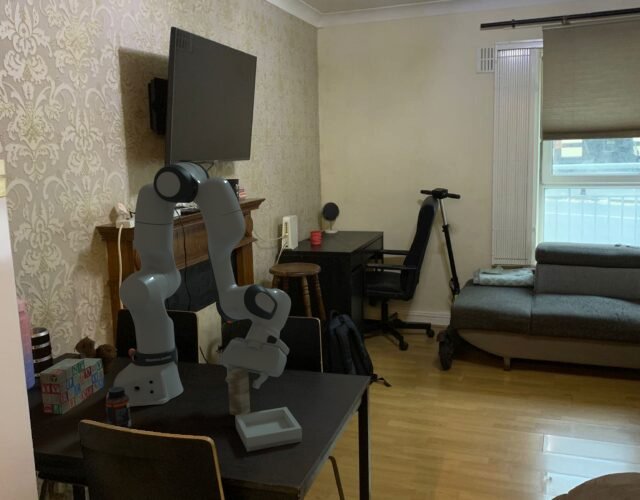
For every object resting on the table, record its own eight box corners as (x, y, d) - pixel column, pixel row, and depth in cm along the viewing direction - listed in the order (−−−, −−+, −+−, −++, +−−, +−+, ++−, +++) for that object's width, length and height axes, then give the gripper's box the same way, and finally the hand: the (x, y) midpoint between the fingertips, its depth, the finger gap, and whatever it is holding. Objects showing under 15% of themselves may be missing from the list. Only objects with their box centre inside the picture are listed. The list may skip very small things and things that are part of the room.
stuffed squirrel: (69, 375, 206) (65, 337, 204) (111, 365, 214) (108, 329, 212) (78, 383, 198) (74, 344, 196) (121, 373, 207) (118, 335, 204)
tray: (247, 451, 150) (246, 437, 149) (235, 427, 163) (235, 415, 162) (302, 441, 154) (301, 428, 154) (286, 419, 167) (286, 406, 167)
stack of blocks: (87, 385, 197) (84, 348, 195) (105, 386, 195) (101, 349, 193) (43, 413, 176) (39, 372, 174) (62, 414, 175) (58, 373, 173)
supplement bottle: (136, 427, 165) (133, 387, 163) (118, 436, 160) (114, 395, 158) (121, 422, 168) (118, 383, 166) (103, 431, 163) (99, 390, 161)
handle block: (229, 414, 172) (227, 372, 170) (238, 408, 175) (236, 368, 173) (241, 416, 170) (239, 375, 168) (250, 411, 173) (248, 370, 171)
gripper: (227, 331, 182) (207, 373, 175) (284, 340, 171) (265, 385, 165) (237, 341, 186) (218, 383, 180) (294, 351, 176) (276, 395, 169)
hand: (241, 384), depth 172 cm, fingers open, 8 cm apart
